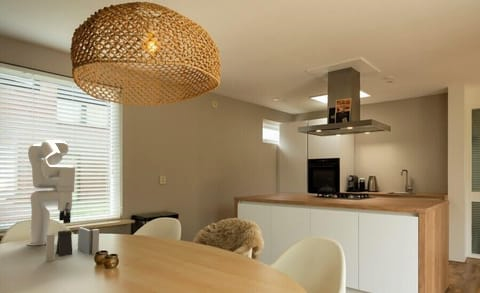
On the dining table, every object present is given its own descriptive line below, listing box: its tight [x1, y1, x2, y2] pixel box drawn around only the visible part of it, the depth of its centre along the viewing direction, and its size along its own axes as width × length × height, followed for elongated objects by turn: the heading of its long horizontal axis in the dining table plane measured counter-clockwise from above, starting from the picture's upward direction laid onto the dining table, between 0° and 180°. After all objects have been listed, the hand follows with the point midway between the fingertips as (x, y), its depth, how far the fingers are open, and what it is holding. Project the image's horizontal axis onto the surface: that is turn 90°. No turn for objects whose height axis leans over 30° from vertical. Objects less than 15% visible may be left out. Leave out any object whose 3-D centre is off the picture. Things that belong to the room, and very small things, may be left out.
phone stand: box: [55, 229, 73, 257], centre depth 174 cm, size 9×6×12 cm, turn 40°
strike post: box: [45, 233, 56, 262], centre depth 161 cm, size 3×3×12 cm
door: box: [77, 226, 92, 255], centre depth 179 cm, size 17×2×13 cm, turn 45°
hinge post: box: [90, 228, 100, 255], centre depth 174 cm, size 3×3×12 cm
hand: (64, 221), depth 175 cm, fingers open, 9 cm apart
